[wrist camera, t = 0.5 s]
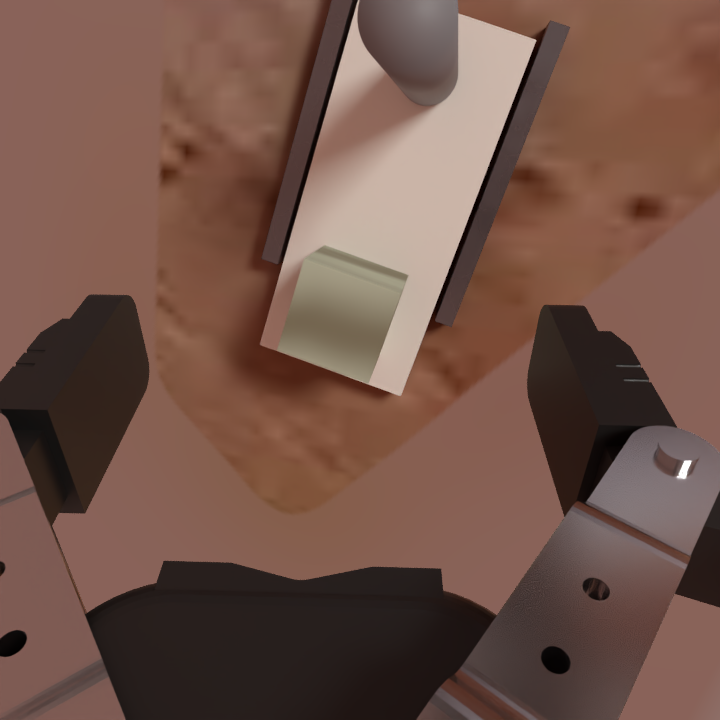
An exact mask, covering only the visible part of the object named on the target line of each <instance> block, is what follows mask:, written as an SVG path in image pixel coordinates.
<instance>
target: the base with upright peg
mask: <svg viewBox="0 0 720 720" xmlns="http://www.w3.org/2000/svg"><path fill="white" fill-rule="evenodd" d="M535 43H536V40H535V39H532V38H529V37H526V36H523V35H520V34H517V33H514V32H511V31H509V30H506V29H503V28H500V27H497V26H494V25H491V24H488V23H485V22H482V21H479V20H476V19H473V18H470V17H467V16H464V15H461V14H458V2H457V0H358V2H357V5H356V9H355V12H354V16H353V19H352V23H351V26H350V30H349V33H348V37H347V40H346V44H345V47H344V51H343V54H342V58H341V62H340V65H339V69H338V72H337V76H336V79H335V83H334V86H333V90H332V93H331V97H330V100H329V104H328V107H327V111H326V114H325V118H324V121H323V125H322V128H321V132H320V135H319V139H318V142H317V146H316V149H315V153H314V156H313V160H312V163H311V167H310V170H309V174H308V177H307V181H306V184H305V188H304V191H303V195H302V198H301V202H300V205H299V209H298V212H297V216H296V219H295V223H294V226H293V230H292V233H291V237H290V240H289V244H288V247H287V251H286V254H285V258H284V261H283V265H282V268H281V272H280V275H279V279H278V282H277V286H276V289H275V293H274V296H273V300H272V303H271V307H270V310H269V314H268V317H267V321H266V324H265V328H264V331H263V335H262V338H261V342H260V345H262V346H264V347H267V348H270V349H273V350H275V351H277V349H278V345H279V342H280V339H281V335H282V332H283V328H284V325H285V322H286V318H287V315H288V312H289V308H290V305H291V301H292V298H293V295H294V291H295V288H296V285H297V281H298V278H299V274H300V271H301V268H302V264H303V261H304V258H306V257H308V256H309V255H311V254H312V253H314V252H315V251H317V250H318V249H320V248H321V247H323V246H324V245H326V246H329V247H331V248H334V249H337V250H340V251H343V252H345V253H348V254H351V255H354V256H357V257H359V258H362V259H365V260H368V261H371V262H373V263H376V264H379V265H382V266H385V267H387V268H390V269H393V270H396V271H399V272H401V273H404V274H407V275H408V278H407V281H406V283H405V286H404V289H403V292H402V295H401V297H400V300H399V303H398V306H397V309H396V311H395V314H394V317H393V320H392V322H391V325H390V328H389V331H388V334H387V336H386V339H385V342H384V345H383V347H382V350H381V353H380V356H379V358H378V361H377V363H376V366H375V368H374V371H373V373H372V376H371V378H370V381H369V383H368V384H369V385H371V386H374V387H377V388H380V389H382V390H385V391H388V392H390V393H393V394H396V395H399V396H401V394H402V391H403V389H404V386H405V384H406V381H407V378H408V376H409V373H410V370H411V368H412V365H413V363H414V360H415V357H416V355H417V352H418V350H419V347H420V344H421V342H422V339H423V336H424V334H425V331H426V329H427V326H428V323H429V321H430V318H431V315H432V313H433V310H434V308H435V305H436V302H437V300H438V297H439V294H440V292H441V289H442V287H443V284H444V281H445V279H446V276H447V273H448V271H449V268H450V266H451V263H452V260H453V258H454V255H455V252H456V250H457V247H458V245H459V242H460V239H461V237H462V234H463V232H464V229H465V226H466V224H467V221H468V218H469V216H470V213H471V211H472V208H473V205H474V203H475V200H476V197H477V195H478V192H479V190H480V187H481V184H482V182H483V179H484V176H485V174H486V171H487V169H488V166H489V163H490V161H491V158H492V155H493V153H494V150H495V148H496V145H497V142H498V140H499V137H500V134H501V132H502V129H503V127H504V124H505V121H506V119H507V116H508V113H509V111H510V108H511V106H512V103H513V100H514V98H515V95H516V93H517V90H518V87H519V85H520V82H521V79H522V77H523V74H524V72H525V69H526V66H527V64H528V61H529V58H530V56H531V53H532V51H533V48H534V45H535ZM278 352H280V351H278ZM281 353H282V352H281ZM284 354H285V353H284ZM286 355H288V354H286ZM289 356H291V355H289ZM292 357H293V356H292ZM294 358H296V357H294ZM297 359H299V358H297ZM300 360H302V359H300ZM303 361H304V360H303ZM305 362H307V361H305ZM308 363H310V362H308ZM311 364H313V363H311ZM314 365H315V364H314ZM316 366H318V365H316ZM319 367H321V366H319ZM322 368H324V367H322ZM325 369H326V368H325ZM327 370H329V369H327ZM330 371H332V370H330ZM333 372H335V371H333ZM336 373H337V372H336ZM338 374H340V373H338ZM341 375H343V374H341ZM344 376H346V375H344ZM347 377H348V376H347ZM349 378H351V377H349ZM352 379H354V378H352ZM355 380H356V379H355ZM358 381H359V380H358ZM360 382H362V381H360ZM363 383H365V382H363ZM366 384H367V383H366Z"/></svg>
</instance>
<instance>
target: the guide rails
mask: <svg viewBox="0 0 720 720" xmlns="http://www.w3.org/2000/svg"><path fill="white" fill-rule="evenodd" d="M357 2H358V0H332V1H331V5H330V9H329V12H328V16H327V20H326V23H325V27H324V31H323V34H322V38H321V42H320V45H319V49H318V53H317V56H316V60H315V64H314V67H313V71H312V75H311V78H310V82H309V86H308V89H307V93H306V97H305V100H304V104H303V108H302V111H301V115H300V119H299V122H298V126H297V130H296V133H295V137H294V141H293V144H292V148H291V152H290V155H289V159H288V163H287V166H286V170H285V174H284V177H283V181H282V185H281V188H280V192H279V196H278V199H277V203H276V207H275V210H274V214H273V218H272V221H271V225H270V229H269V232H268V236H267V240H266V243H265V247H264V251H263V254H262V258H261V259H263V260H266V261H269V262H272V263H275V264H277V265H278V264H279V263H281V262H283V261H284V258H285V254H286V251H287V247H288V244H289V240H290V237H291V233H292V230H293V226H294V223H295V219H296V216H297V212H298V209H299V205H300V202H301V198H302V195H303V191H304V188H305V184H306V181H307V177H308V174H309V170H310V167H311V163H312V160H313V156H314V153H315V149H316V146H317V142H318V139H319V135H320V132H321V128H322V125H323V121H324V118H325V114H326V111H327V107H328V104H329V100H330V97H331V93H332V90H333V86H334V83H335V79H336V76H337V72H338V69H339V65H340V62H341V58H342V54H343V51H344V47H345V44H346V40H347V37H348V33H349V30H350V26H351V23H352V19H353V16H354V12H355V9H356V5H357ZM569 29H570V27H568V26H565V25H562V24H559V23H557V22H554V21H551V20H550V22H549V23H548V25H547V26H546V29H545V31H544V34H543V36H542V39H541V42H540V44H539V47H538V49H537V52H536V55H535V57H534V60H533V63H532V65H531V68H530V70H529V73H528V76H527V78H526V81H525V83H524V86H523V89H522V91H521V94H520V96H519V99H518V102H517V104H516V107H515V109H514V112H513V115H512V117H511V120H510V122H509V125H508V128H507V130H506V133H505V135H504V138H503V141H502V143H501V146H500V149H499V151H498V154H497V156H496V159H495V162H494V164H493V167H492V169H491V172H490V175H489V177H488V180H487V182H486V185H485V188H484V190H483V193H482V195H481V198H480V201H479V203H478V206H477V208H476V211H475V214H474V216H473V219H472V222H471V224H470V227H469V229H468V232H467V235H466V237H465V240H464V242H463V245H462V248H461V250H460V253H459V255H458V258H457V261H456V263H455V266H454V268H453V271H452V274H451V276H450V279H449V281H448V284H447V287H446V289H445V292H444V294H443V297H442V300H441V302H440V305H439V308H438V310H437V313H436V317H435V321H436V322H439V323H442V324H444V325H447V326H450V327H452V324H453V322H454V319H455V317H456V314H457V312H458V309H459V307H460V304H461V302H462V299H463V297H464V294H465V292H466V289H467V287H468V284H469V281H470V279H471V276H472V274H473V271H474V269H475V266H476V264H477V261H478V259H479V256H480V254H481V251H482V249H483V246H484V244H485V241H486V239H487V236H488V233H489V231H490V228H491V226H492V223H493V221H494V218H495V216H496V213H497V211H498V208H499V206H500V203H501V201H502V198H503V196H504V193H505V190H506V188H507V185H508V183H509V180H510V178H511V175H512V173H513V170H514V168H515V165H516V163H517V160H518V158H519V155H520V153H521V150H522V148H523V145H524V142H525V140H526V137H527V135H528V132H529V130H530V127H531V125H532V122H533V120H534V117H535V115H536V112H537V110H538V107H539V105H540V102H541V100H542V97H543V94H544V92H545V89H546V87H547V84H548V82H549V79H550V77H551V74H552V72H553V69H554V67H555V64H556V62H557V59H558V57H559V54H560V52H561V49H562V46H563V44H564V41H565V39H566V36H567V34H568V31H569Z"/></svg>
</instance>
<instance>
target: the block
mask: <svg viewBox="0 0 720 720" xmlns="http://www.w3.org/2000/svg"><path fill="white" fill-rule="evenodd" d="M407 278H408V275H407V274H404V273H401V272H399V271H396V270H393V269H390V268H387V267H385V266H382V265H379V264H376V263H373V262H371V261H368V260H365V259H362V258H359V257H357V256H354V255H351V254H348V253H345V252H343V251H340V250H337V249H334V248H331V247H329V246H326V245H324V246H323V247H321V248H320V249H318V250H317V251H315V252H314V253H312V254H311V255H309V256H308V257H306V258H304V261H303V264H302V268H301V271H300V274H299V278H298V281H297V285H296V288H295V291H294V295H293V298H292V301H291V305H290V308H289V312H288V315H287V318H286V322H285V325H284V328H283V332H282V335H281V339H280V342H279V345H278V349H277V351H280V352H282V353H285V354H288V355H291V356H293V357H296V358H299V359H302V360H304V361H307V362H310V363H313V364H315V365H318V366H321V367H324V368H326V369H329V370H332V371H335V372H337V373H340V374H343V375H346V376H348V377H351V378H354V379H356V380H359V381H362V382H365V383H367V384H368V383H369V381H370V378H371V376H372V373H373V371H374V368H375V366H376V363H377V361H378V358H379V356H380V353H381V350H382V347H383V345H384V342H385V339H386V336H387V334H388V331H389V328H390V325H391V322H392V320H393V317H394V314H395V311H396V309H397V306H398V303H399V300H400V297H401V295H402V292H403V289H404V286H405V283H406V281H407Z"/></svg>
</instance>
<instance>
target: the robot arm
mask: <svg viewBox="0 0 720 720" xmlns="http://www.w3.org/2000/svg"><path fill="white" fill-rule="evenodd" d="M640 365H641V364H640V362H639V361H638V359H637V357H636V355H635V354H634V352H633V350H632V348H631V347H630V346H629V345H627V344H626V343H625V342H624V341H622V340H621V339H620V338H619V337H617V336H616V335H615V334H613V333H612V332H610V331H598V330H597V328H596V326H595V324H594V322H593V320H592V318H591V316H590V314H589V313H588V311H587V309H586V307H585V306H576V305H544V306H543V307H542V309H541V312H540V315H539V320H538V325H537V330H536V335H535V340H534V345H533V350H532V355H531V360H530V365H529V370H528V379H527V389H528V398H529V402H530V406H531V409H532V412H533V415H534V419H535V422H536V425H537V429H538V432H539V435H540V438H541V442H542V445H543V448H544V451H545V454H546V458H547V461H548V465H549V468H550V471H551V474H552V478H553V481H554V484H555V487H556V491H557V494H558V497H559V500H560V504H561V507H562V510H563V514H564V517H565V518H564V519H563V520H562V522H561V523H560V525H559V526H558V528H557V529H556V531H555V532H554V534H553V535H552V536H551V538H550V539H549V541H548V542H547V544H546V545H545V546H544V548H543V549H542V551H541V552H540V554H539V555H538V557H537V558H536V559H535V561H534V562H533V564H532V565H531V567H530V568H529V570H528V571H527V573H526V574H525V576H524V577H523V578H522V580H521V581H520V583H519V584H518V586H517V587H516V588H515V590H514V592H513V593H512V594H511V596H510V597H509V599H508V600H507V602H506V603H505V604H504V606H503V607H502V609H501V610H500V612H499V613H498V615H496V614H494V613H493V612H491V611H490V610H488V609H487V608H485V607H483V606H481V605H479V604H477V603H475V602H473V601H471V600H469V599H467V598H464V597H462V596H459V595H456V594H453V593H450V592H446V591H443V585H442V574H441V569H433V568H431V569H430V568H397V567H369V568H364V569H359V570H354V571H349V572H344V573H339V574H334V575H329V576H324V577H319V578H314V579H309V580H294V579H290V578H286V577H282V576H278V575H275V574H271V573H267V572H264V571H260V570H256V569H253V568H249V567H245V566H241V565H237V564H233V563H220V562H184V561H183V562H182V561H164V562H163V565H162V568H161V571H160V574H159V577H158V580H157V583H155V584H151V585H146V586H143V587H140V588H137V589H134V590H131V591H128V592H126V593H124V594H121V595H119V596H116V597H114V598H112V599H110V600H108V601H106V602H104V603H103V604H101V605H99V606H97V607H96V608H94V609H93V610H91V611H89V612H88V613H87V612H86V609H85V607H84V604H83V602H82V599H81V597H80V594H79V592H78V590H77V587H76V584H75V582H74V579H73V577H72V574H71V572H70V569H69V567H68V564H67V562H66V559H65V557H64V555H63V552H62V549H61V547H60V544H59V542H58V539H57V537H56V534H55V532H54V530H53V527H52V525H53V523H54V521H55V519H56V517H57V515H58V513H85V512H86V510H87V508H88V506H89V504H90V502H91V500H92V498H93V496H94V494H95V492H96V490H97V488H98V486H99V484H100V482H101V480H102V478H103V476H104V474H105V472H106V470H107V468H108V466H109V464H110V462H111V460H112V458H113V456H114V454H115V452H116V450H117V448H118V446H119V444H120V442H121V440H122V438H123V436H124V434H125V432H126V430H127V427H128V425H129V424H130V421H131V419H132V418H133V415H134V413H135V411H136V409H137V407H138V405H139V403H140V401H141V399H142V397H143V395H144V393H145V391H146V389H147V385H148V380H149V362H148V357H147V353H146V348H145V344H144V340H143V335H142V331H141V327H140V322H139V318H138V313H137V309H136V305H135V303H134V300H133V299H132V297H131V296H129V295H89V296H87V297H86V299H85V300H84V301H83V303H82V304H81V305H80V306H79V308H78V309H77V310H76V312H75V313H74V314H73V315H72V317H71V318H70V319H62V320H60V321H58V322H57V323H55V324H54V325H52V326H50V327H49V328H47V329H46V330H44V331H43V332H41V333H40V334H39V335H38V336H37V338H36V339H35V340H34V341H33V343H32V344H31V345H30V346H29V347H28V349H27V353H24V354H23V355H22V356H21V357H20V358H19V360H18V361H17V362H16V367H12V368H11V369H10V371H9V372H8V373H7V374H6V376H5V377H4V378H3V379H2V381H1V382H0V720H618V719H619V717H620V715H621V713H622V710H623V708H624V706H625V704H626V701H627V699H628V697H629V695H630V692H631V690H632V688H633V686H634V683H635V681H636V679H637V677H638V675H639V672H640V670H641V668H642V666H643V663H644V661H645V659H646V657H647V655H648V652H649V650H650V648H651V646H652V643H653V641H654V639H655V637H656V634H657V632H658V630H659V628H660V625H661V623H662V621H663V618H664V617H665V614H666V612H667V610H668V608H669V605H670V603H671V601H672V599H673V596H674V594H677V595H681V596H684V597H687V598H691V599H694V600H698V601H700V602H704V603H707V604H711V605H714V606H717V607H720V453H719V452H718V450H717V449H715V448H714V447H713V446H712V445H711V444H710V443H708V442H707V441H706V440H704V439H702V438H701V437H699V436H697V435H695V434H693V433H691V432H688V431H685V430H682V429H679V428H677V426H676V425H675V423H674V421H673V419H672V417H671V416H670V414H669V412H668V411H667V409H666V407H665V405H664V404H663V402H662V400H661V399H660V397H659V395H658V393H657V392H656V390H655V388H654V386H653V385H652V383H651V382H649V378H648V376H647V374H646V373H645V371H644V369H643V368H641V367H640Z"/></svg>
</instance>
